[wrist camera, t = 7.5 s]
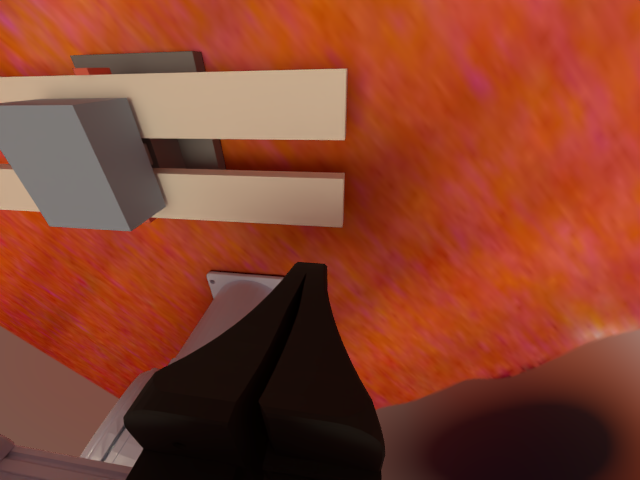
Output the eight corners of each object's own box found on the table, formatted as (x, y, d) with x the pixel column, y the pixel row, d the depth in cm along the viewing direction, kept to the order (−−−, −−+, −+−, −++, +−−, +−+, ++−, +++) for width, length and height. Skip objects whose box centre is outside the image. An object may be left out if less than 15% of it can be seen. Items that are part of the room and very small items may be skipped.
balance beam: (351, 46, 15) (346, 40, 11) (346, 209, 20) (341, 243, 16) (-32, 60, 18) (-139, 58, 15) (50, 196, 24) (-11, 221, 20)
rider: (137, 96, 14) (72, 104, 11) (173, 201, 17) (130, 231, 14) (55, 97, 15) (-29, 105, 12) (105, 198, 18) (49, 226, 15)
